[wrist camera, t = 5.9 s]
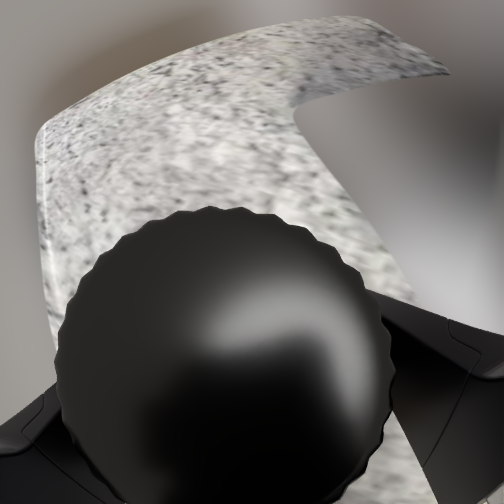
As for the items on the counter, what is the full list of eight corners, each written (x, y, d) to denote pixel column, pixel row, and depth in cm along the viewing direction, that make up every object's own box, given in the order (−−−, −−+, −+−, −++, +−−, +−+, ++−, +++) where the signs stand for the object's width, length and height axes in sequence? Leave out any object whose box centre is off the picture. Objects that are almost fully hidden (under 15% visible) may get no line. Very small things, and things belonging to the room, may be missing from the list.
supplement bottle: (168, 363, 15) (-26, 319, 4) (263, 279, 16) (230, 89, 5) (256, 459, 13) (199, 623, 1) (355, 370, 14) (529, 348, 3)
